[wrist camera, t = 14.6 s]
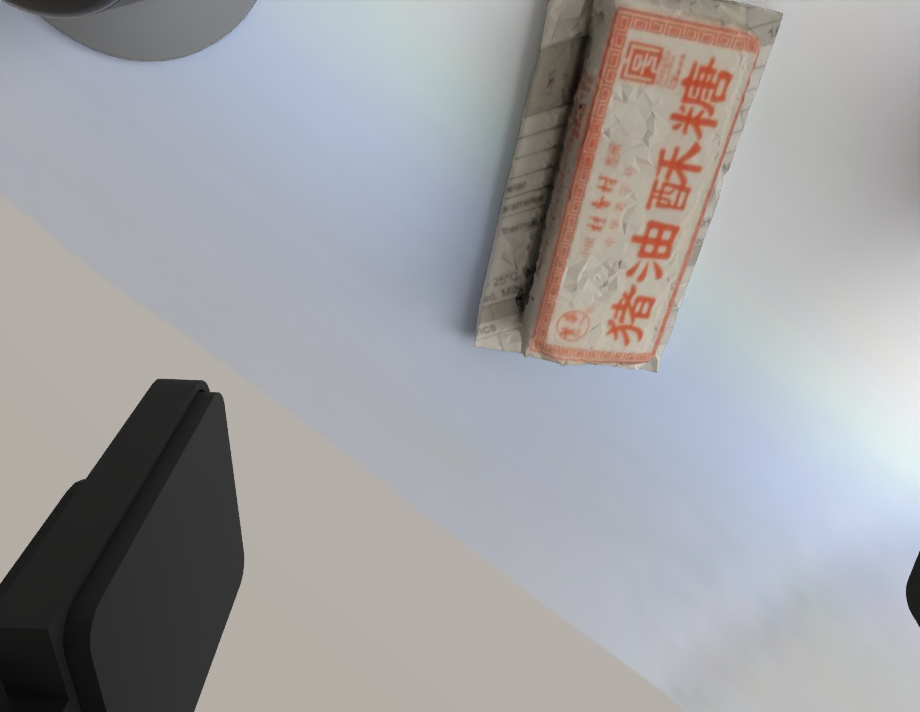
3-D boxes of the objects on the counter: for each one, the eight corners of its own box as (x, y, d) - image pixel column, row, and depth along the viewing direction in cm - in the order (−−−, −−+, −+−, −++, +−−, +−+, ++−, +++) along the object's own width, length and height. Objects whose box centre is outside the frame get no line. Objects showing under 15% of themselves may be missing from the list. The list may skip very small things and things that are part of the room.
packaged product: (566, -31, 30) (820, 22, 31) (552, -39, 34) (775, 8, 35) (473, 381, 38) (673, 412, 39) (470, 334, 43) (652, 363, 44)
